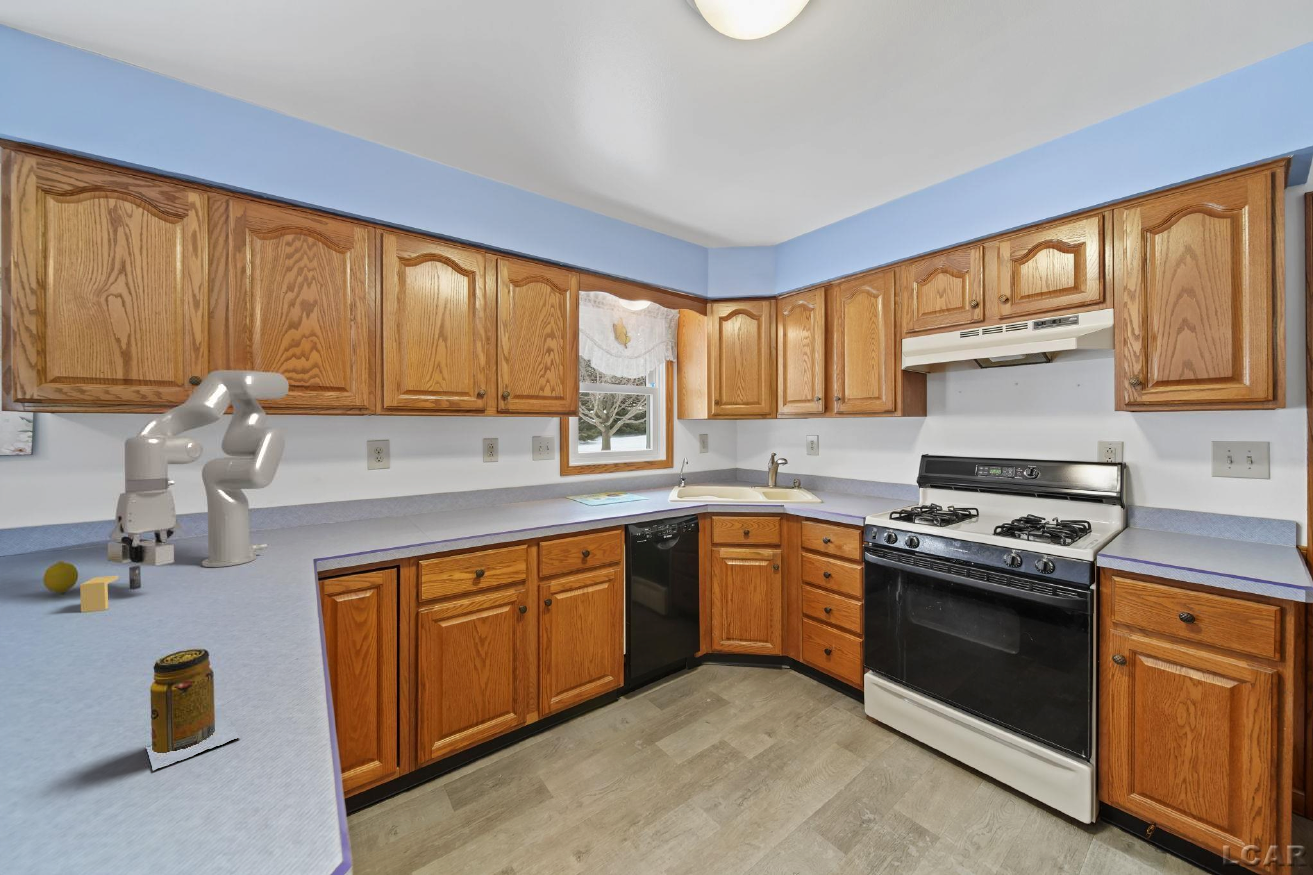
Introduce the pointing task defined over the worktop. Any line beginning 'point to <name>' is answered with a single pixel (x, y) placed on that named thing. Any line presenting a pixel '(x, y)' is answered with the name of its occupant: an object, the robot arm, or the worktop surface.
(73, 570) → the lemon
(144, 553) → the link
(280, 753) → the worktop surface
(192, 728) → the condiment
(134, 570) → the cylinder
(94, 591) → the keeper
